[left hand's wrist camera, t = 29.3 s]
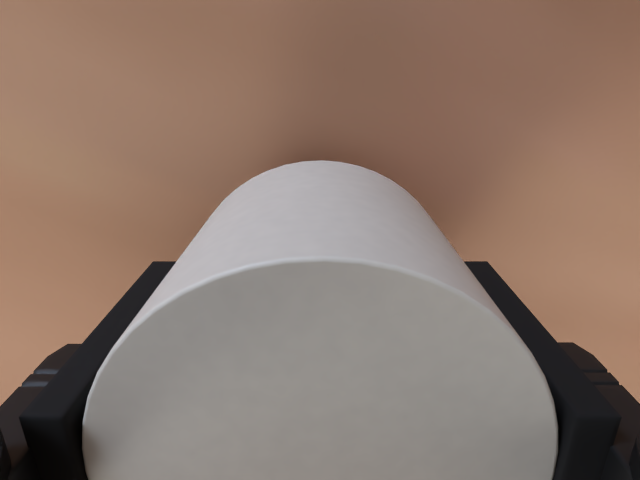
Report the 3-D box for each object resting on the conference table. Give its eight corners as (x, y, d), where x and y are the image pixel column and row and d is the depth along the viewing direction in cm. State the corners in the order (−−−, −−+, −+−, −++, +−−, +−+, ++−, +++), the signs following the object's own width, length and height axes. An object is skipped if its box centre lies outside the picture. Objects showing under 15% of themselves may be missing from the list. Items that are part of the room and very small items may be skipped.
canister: (375, 106, 13) (441, 151, 6) (486, 327, 16) (620, 536, 9) (140, 241, 15) (-27, 402, 8) (277, 421, 17) (248, 664, 10)
